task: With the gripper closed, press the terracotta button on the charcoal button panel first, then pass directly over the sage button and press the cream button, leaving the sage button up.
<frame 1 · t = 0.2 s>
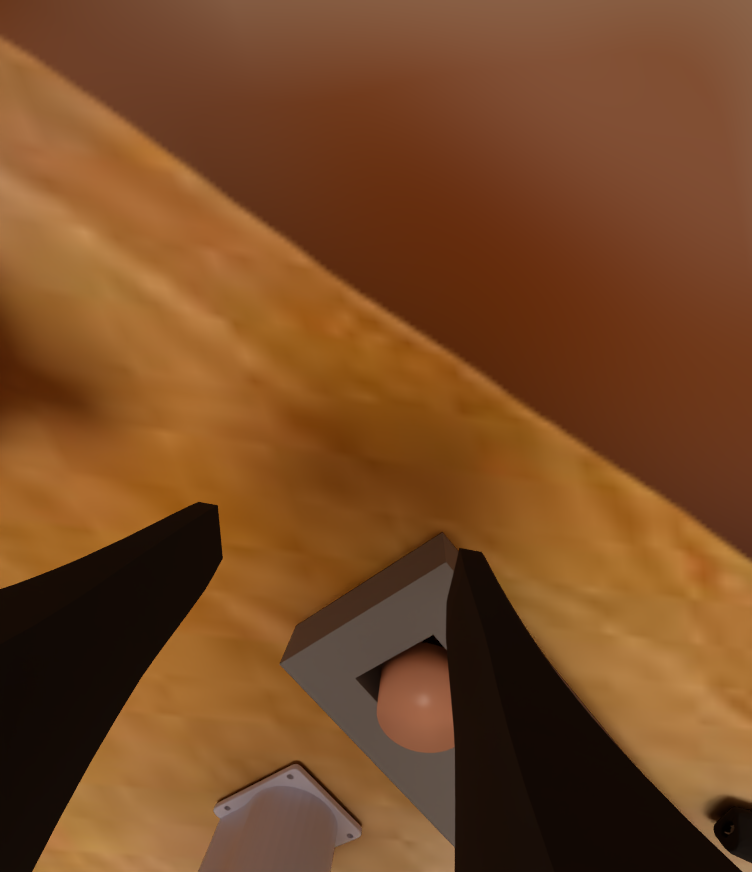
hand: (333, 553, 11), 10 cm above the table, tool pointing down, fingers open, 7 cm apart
terracotta button: (423, 696, 21), point 3 cm above the table, slide at 0.0 cm
button panel: (512, 750, 25), on the table
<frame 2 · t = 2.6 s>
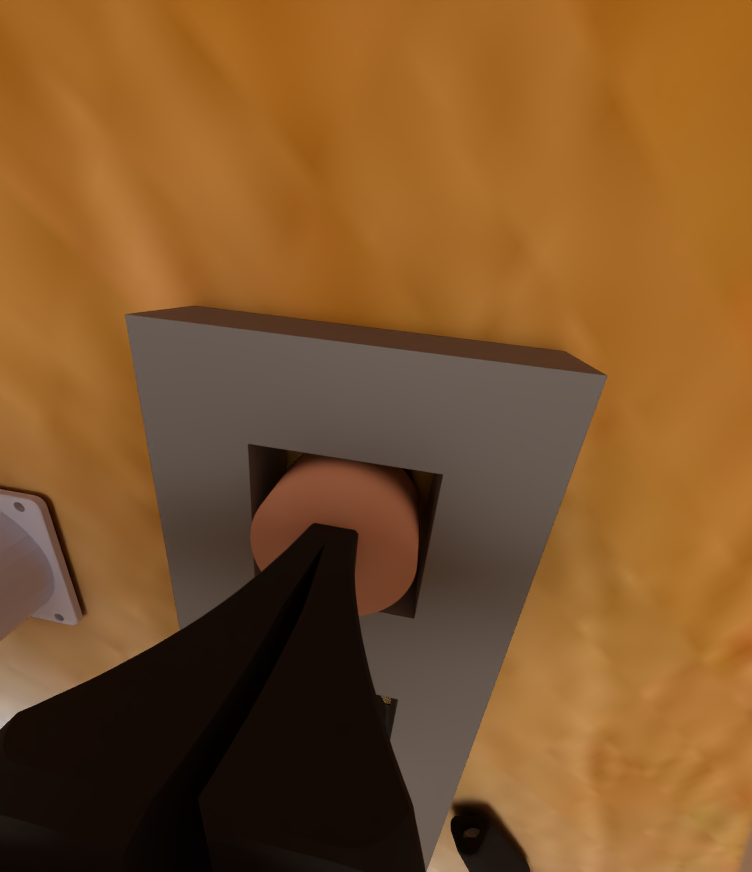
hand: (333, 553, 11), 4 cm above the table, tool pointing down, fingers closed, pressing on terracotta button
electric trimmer: (500, 854, 25), on the table
terracotta button: (341, 528, 12), point 3 cm above the table, slide at 0.8 cm, touching gripper
button panel: (340, 658, 18), on the table
sage button: (322, 733, 15), point 3 cm above the table, slide at 0.0 cm
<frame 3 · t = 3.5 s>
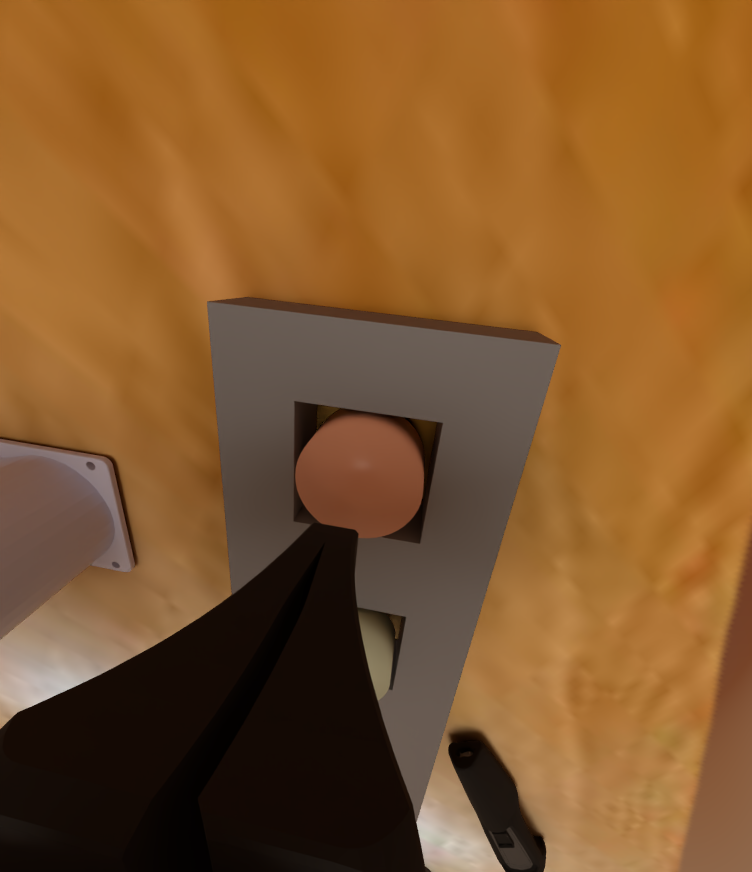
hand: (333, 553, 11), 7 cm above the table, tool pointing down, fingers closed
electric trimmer: (492, 784, 28), on the table
terracotta button: (363, 470, 15), point 2 cm above the table, slide at 0.8 cm
button panel: (356, 598, 22), on the table
sage button: (343, 650, 19), point 3 cm above the table, slide at 0.0 cm
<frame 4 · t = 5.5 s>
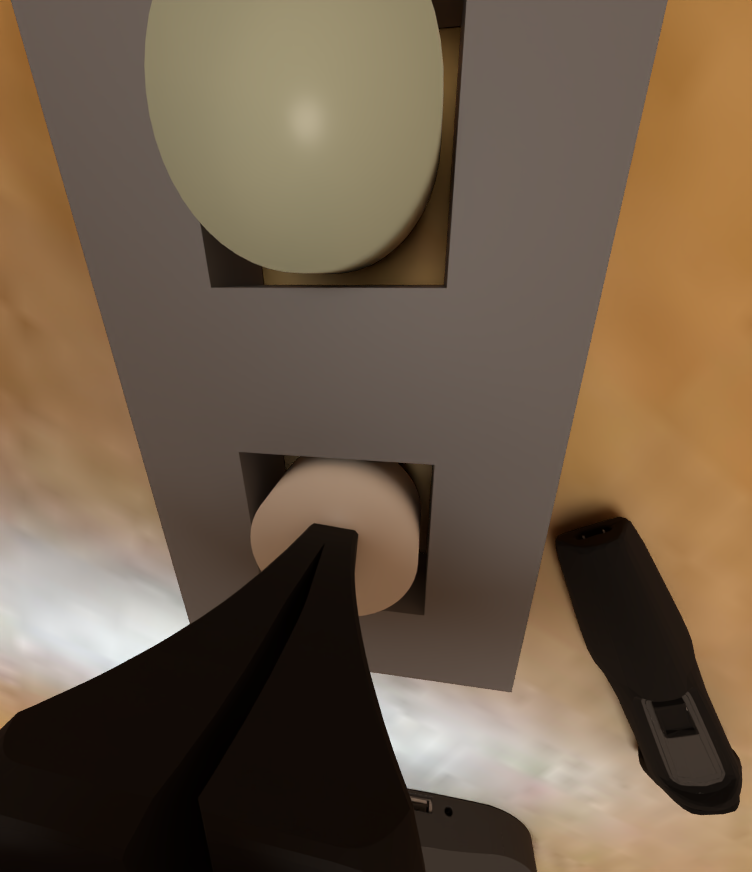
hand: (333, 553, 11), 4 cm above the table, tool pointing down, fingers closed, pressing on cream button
media streaming box: (410, 835, 25), on the table
cream button: (341, 528, 12), point 2 cm above the table, slide at 0.8 cm, touching gripper
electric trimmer: (628, 641, 16), on the table
button panel: (347, 174, 10), on the table
sage button: (310, 131, 7), point 3 cm above the table, slide at 0.0 cm
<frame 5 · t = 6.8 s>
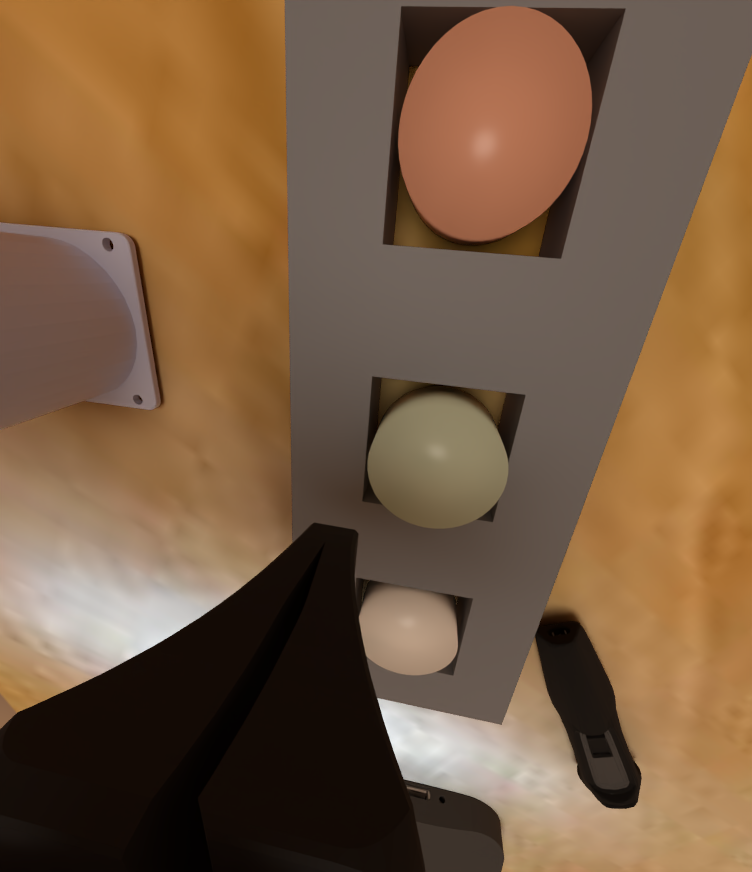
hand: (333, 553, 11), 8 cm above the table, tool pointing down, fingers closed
media streaming box: (407, 817, 33), on the table
cream button: (407, 620, 19), point 2 cm above the table, slide at 0.8 cm
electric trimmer: (576, 691, 23), on the table
terracotta button: (485, 148, 11), point 2 cm above the table, slide at 0.8 cm
button panel: (436, 425, 17), on the table
sage button: (435, 456, 14), point 3 cm above the table, slide at 0.0 cm
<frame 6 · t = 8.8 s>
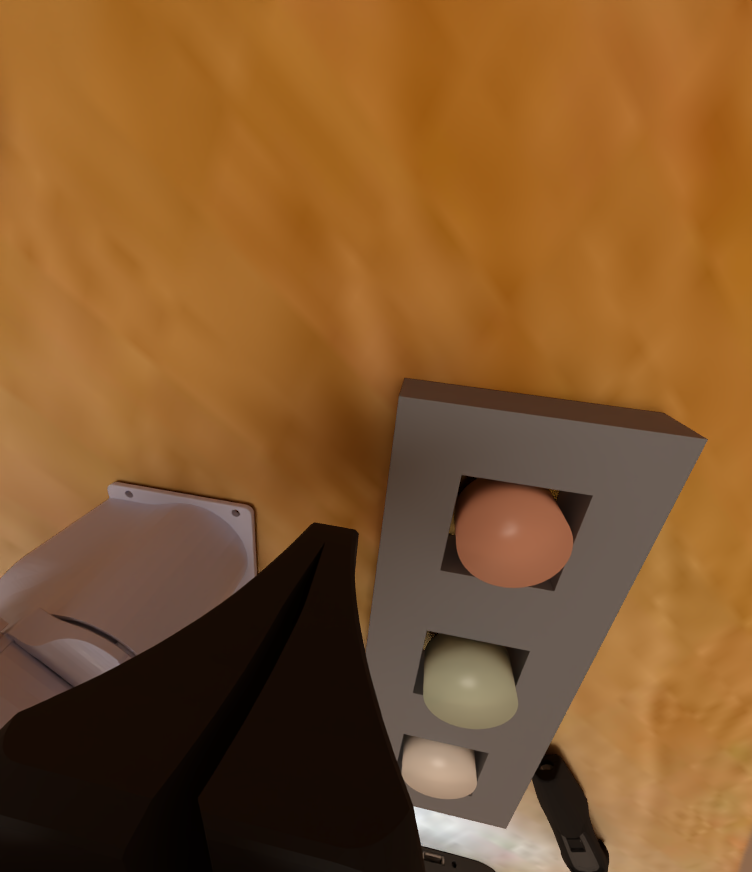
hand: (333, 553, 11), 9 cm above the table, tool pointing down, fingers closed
media streaming box: (422, 871, 40), on the table
cream button: (438, 757, 26), point 2 cm above the table, slide at 0.8 cm
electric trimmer: (560, 793, 30), on the table
terracotta button: (508, 529, 18), point 2 cm above the table, slide at 0.8 cm
button panel: (463, 628, 24), on the table
sage button: (467, 678, 21), point 3 cm above the table, slide at 0.0 cm
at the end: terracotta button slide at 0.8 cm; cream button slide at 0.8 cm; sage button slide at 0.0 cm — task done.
